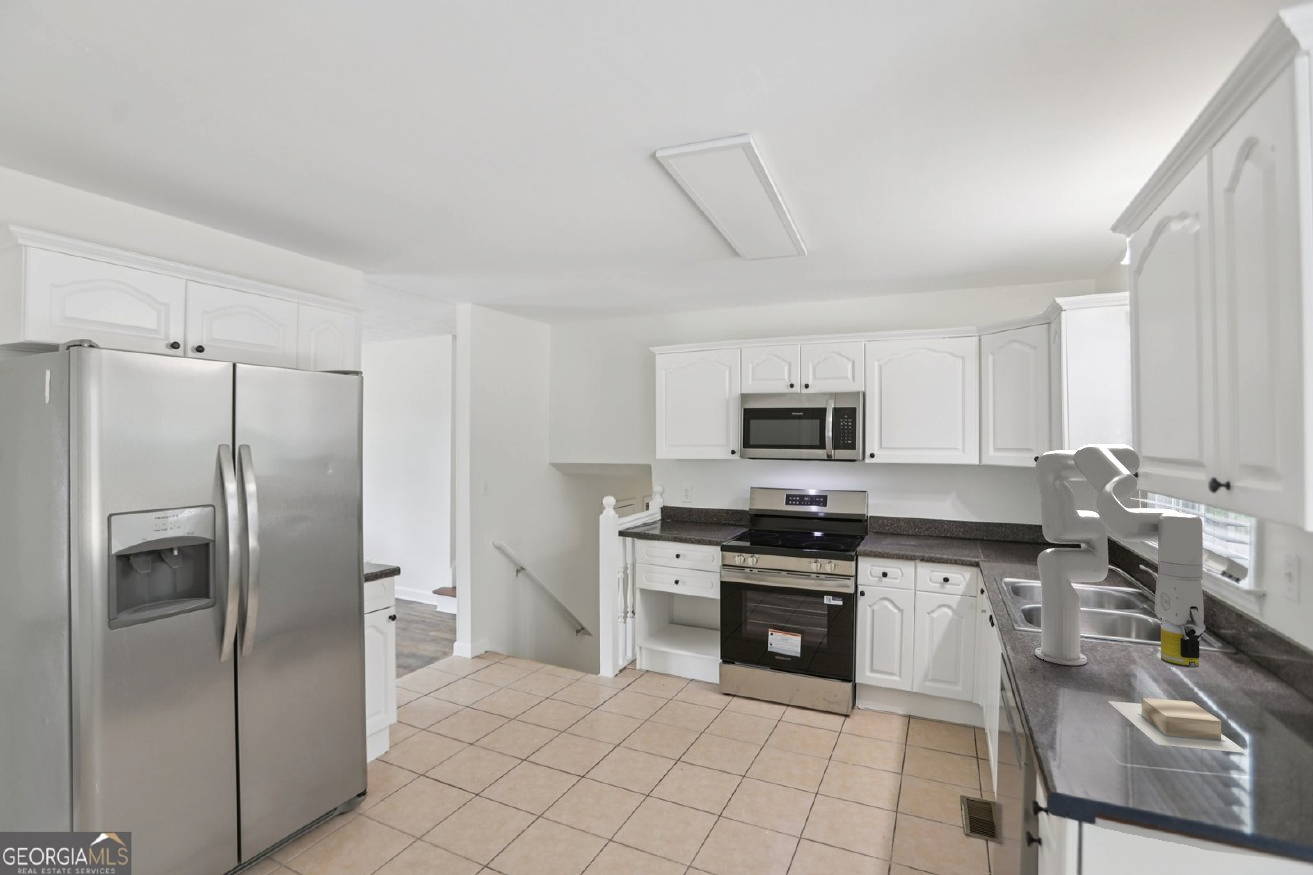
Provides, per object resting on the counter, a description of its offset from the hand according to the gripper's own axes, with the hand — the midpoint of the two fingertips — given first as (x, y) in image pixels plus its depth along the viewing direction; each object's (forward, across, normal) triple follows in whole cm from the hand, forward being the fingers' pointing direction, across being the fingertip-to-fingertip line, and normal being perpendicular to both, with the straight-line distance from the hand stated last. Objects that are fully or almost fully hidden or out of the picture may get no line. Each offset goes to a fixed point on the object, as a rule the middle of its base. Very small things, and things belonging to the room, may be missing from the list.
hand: (1179, 651), depth 139 cm
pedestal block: (+17, 0, 0) cm, 17 cm away
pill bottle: (+3, 0, 0) cm, 3 cm away
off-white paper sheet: (+17, -1, -1) cm, 17 cm away
